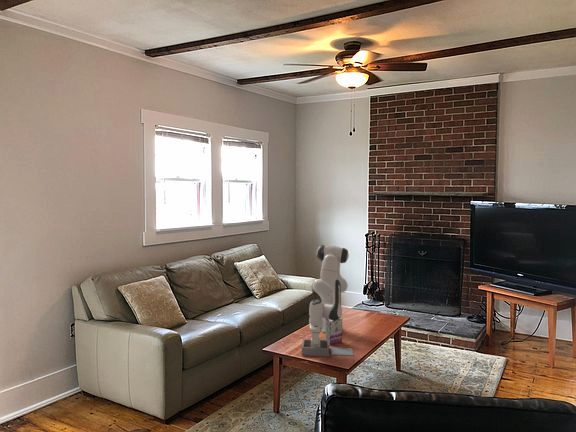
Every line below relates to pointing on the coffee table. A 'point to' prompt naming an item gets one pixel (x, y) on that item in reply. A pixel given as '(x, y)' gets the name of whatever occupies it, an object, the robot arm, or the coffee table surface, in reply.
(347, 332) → the coffee table surface
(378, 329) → the coffee table surface
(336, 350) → the coaster board
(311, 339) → the cream block
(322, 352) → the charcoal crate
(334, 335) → the candy bar box
